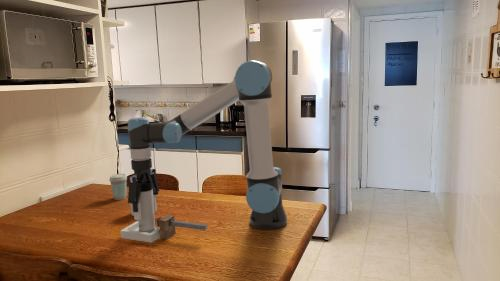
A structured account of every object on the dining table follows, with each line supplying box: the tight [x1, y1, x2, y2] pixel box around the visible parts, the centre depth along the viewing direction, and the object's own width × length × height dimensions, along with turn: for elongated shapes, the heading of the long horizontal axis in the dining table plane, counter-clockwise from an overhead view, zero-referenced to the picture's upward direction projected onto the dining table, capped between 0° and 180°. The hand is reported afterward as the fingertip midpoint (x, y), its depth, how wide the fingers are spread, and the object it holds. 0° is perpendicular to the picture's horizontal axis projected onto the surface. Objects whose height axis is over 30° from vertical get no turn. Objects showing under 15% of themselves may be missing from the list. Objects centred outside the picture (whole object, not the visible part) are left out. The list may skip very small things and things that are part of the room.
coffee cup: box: [109, 173, 128, 201], centre depth 196 cm, size 8×8×12 cm
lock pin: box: [155, 215, 208, 231], centre depth 145 cm, size 21×4×4 cm, turn 68°
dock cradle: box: [120, 220, 160, 243], centre depth 152 cm, size 14×14×3 cm
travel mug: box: [137, 182, 156, 233], centre depth 150 cm, size 6×7×20 cm
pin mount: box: [159, 214, 176, 240], centre depth 148 cm, size 3×6×7 cm, turn 158°
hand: (145, 214), depth 151 cm, fingers open, 9 cm apart
